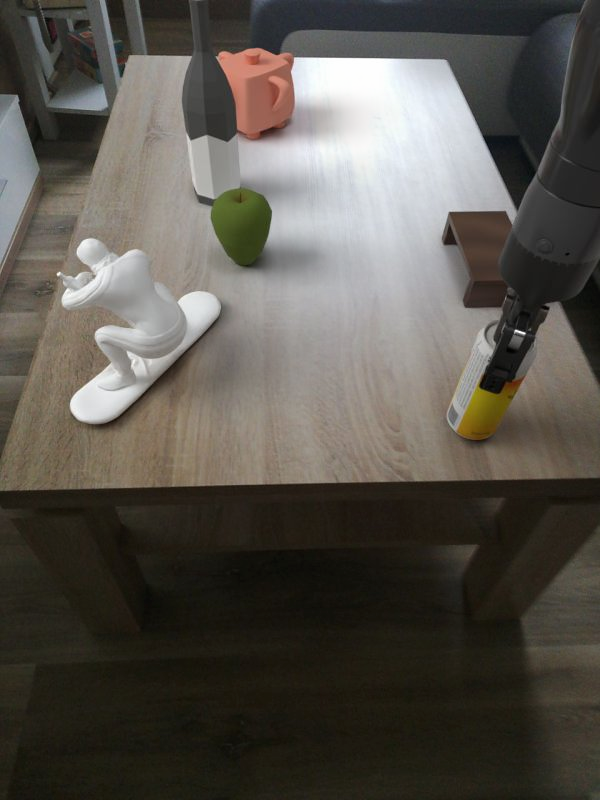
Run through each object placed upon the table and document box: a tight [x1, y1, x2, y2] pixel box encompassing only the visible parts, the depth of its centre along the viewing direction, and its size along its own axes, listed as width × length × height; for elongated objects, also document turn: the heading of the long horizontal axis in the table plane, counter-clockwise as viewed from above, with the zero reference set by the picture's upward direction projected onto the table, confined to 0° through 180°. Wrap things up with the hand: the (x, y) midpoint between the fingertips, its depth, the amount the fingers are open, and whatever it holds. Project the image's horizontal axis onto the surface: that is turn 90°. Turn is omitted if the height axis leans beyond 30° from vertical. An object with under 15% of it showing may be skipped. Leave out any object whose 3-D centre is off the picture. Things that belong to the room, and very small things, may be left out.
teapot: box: [217, 47, 296, 140], centre depth 105 cm, size 17×16×13 cm
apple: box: [209, 187, 273, 266], centre depth 81 cm, size 9×8×12 cm
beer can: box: [446, 318, 538, 441], centre depth 62 cm, size 6×6×15 cm
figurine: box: [56, 237, 222, 425], centre depth 66 cm, size 26×13×17 cm, turn 148°
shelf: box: [441, 210, 513, 308], centre depth 83 cm, size 16×9×5 cm, turn 3°
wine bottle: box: [181, 0, 242, 207], centre depth 84 cm, size 8×8×30 cm
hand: (498, 360), depth 59 cm, fingers open, 8 cm apart
